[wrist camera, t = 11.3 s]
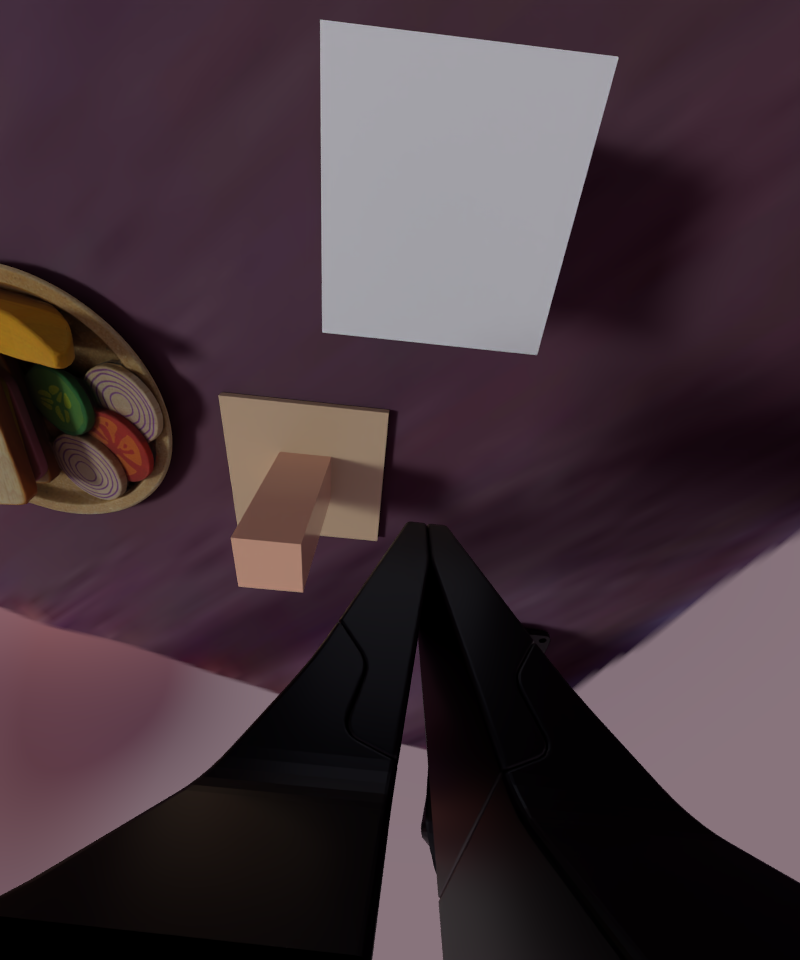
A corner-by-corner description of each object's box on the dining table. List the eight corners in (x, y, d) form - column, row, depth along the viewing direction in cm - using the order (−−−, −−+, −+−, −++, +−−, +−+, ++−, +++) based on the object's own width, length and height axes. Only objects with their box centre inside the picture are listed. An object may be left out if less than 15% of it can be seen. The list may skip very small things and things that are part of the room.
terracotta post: (377, 536, 24) (365, 639, 18) (240, 523, 24) (183, 623, 18) (389, 409, 20) (378, 492, 14) (221, 392, 20) (139, 468, 14)
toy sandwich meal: (182, 523, 25) (137, 583, 21) (-69, 465, 23) (-171, 519, 19) (183, 308, 18) (117, 335, 14) (-169, 204, 16) (-359, 201, 12)
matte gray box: (495, 306, 16) (536, 355, 11) (353, 291, 16) (322, 332, 11) (533, 121, 13) (618, 56, 8) (360, 101, 13) (320, 19, 8)
